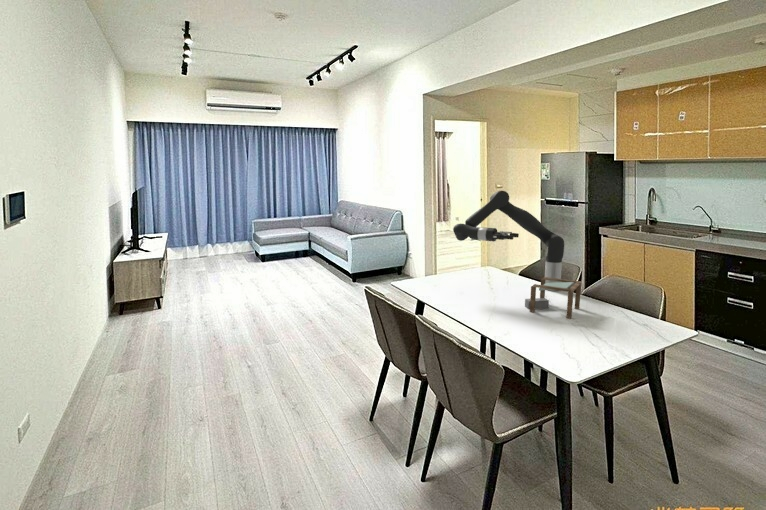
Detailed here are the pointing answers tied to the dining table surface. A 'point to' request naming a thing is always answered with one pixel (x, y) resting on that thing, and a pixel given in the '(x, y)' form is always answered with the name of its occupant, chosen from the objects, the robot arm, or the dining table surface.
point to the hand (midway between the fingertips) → (515, 236)
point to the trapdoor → (559, 285)
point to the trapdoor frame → (570, 291)
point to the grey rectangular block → (538, 303)
